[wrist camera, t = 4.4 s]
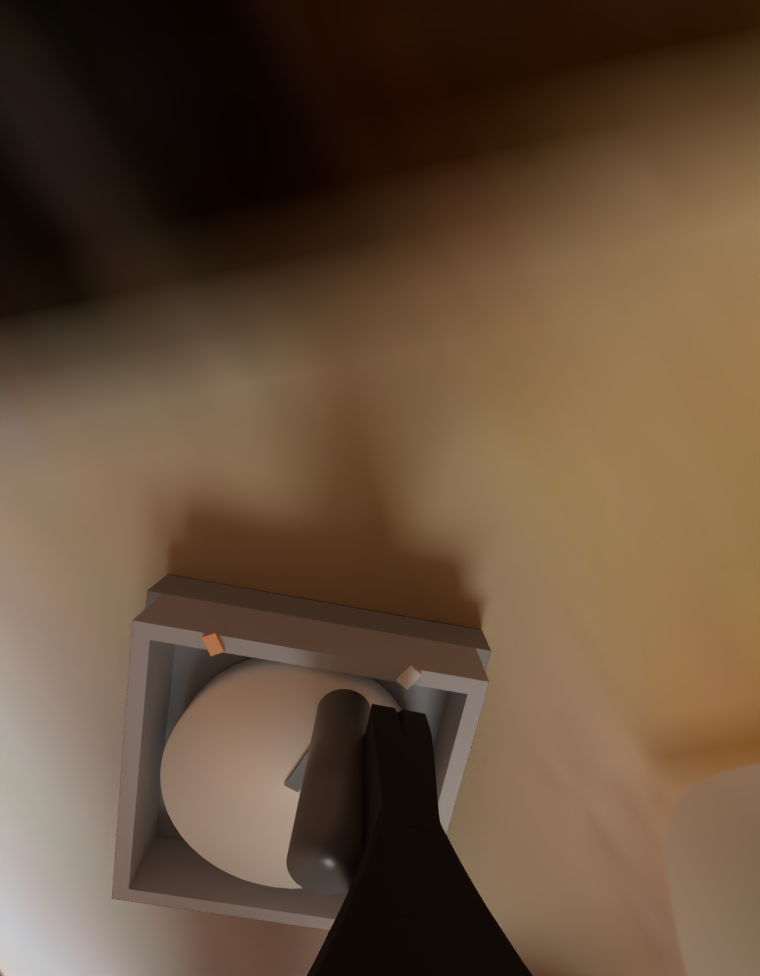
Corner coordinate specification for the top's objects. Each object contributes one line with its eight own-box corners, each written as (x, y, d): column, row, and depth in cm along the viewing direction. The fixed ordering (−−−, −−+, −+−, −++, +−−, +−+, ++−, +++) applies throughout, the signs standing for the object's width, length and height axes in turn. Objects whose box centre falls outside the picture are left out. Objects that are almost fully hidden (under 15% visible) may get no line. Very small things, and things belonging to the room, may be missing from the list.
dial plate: (422, 853, 16) (431, 949, 13) (145, 810, 16) (94, 900, 13) (482, 627, 14) (508, 683, 11) (167, 571, 14) (112, 615, 11)
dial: (337, 888, 15) (315, 1133, 10) (135, 790, 14) (-1, 1005, 9) (463, 728, 13) (513, 920, 8) (249, 608, 12) (162, 742, 7)
